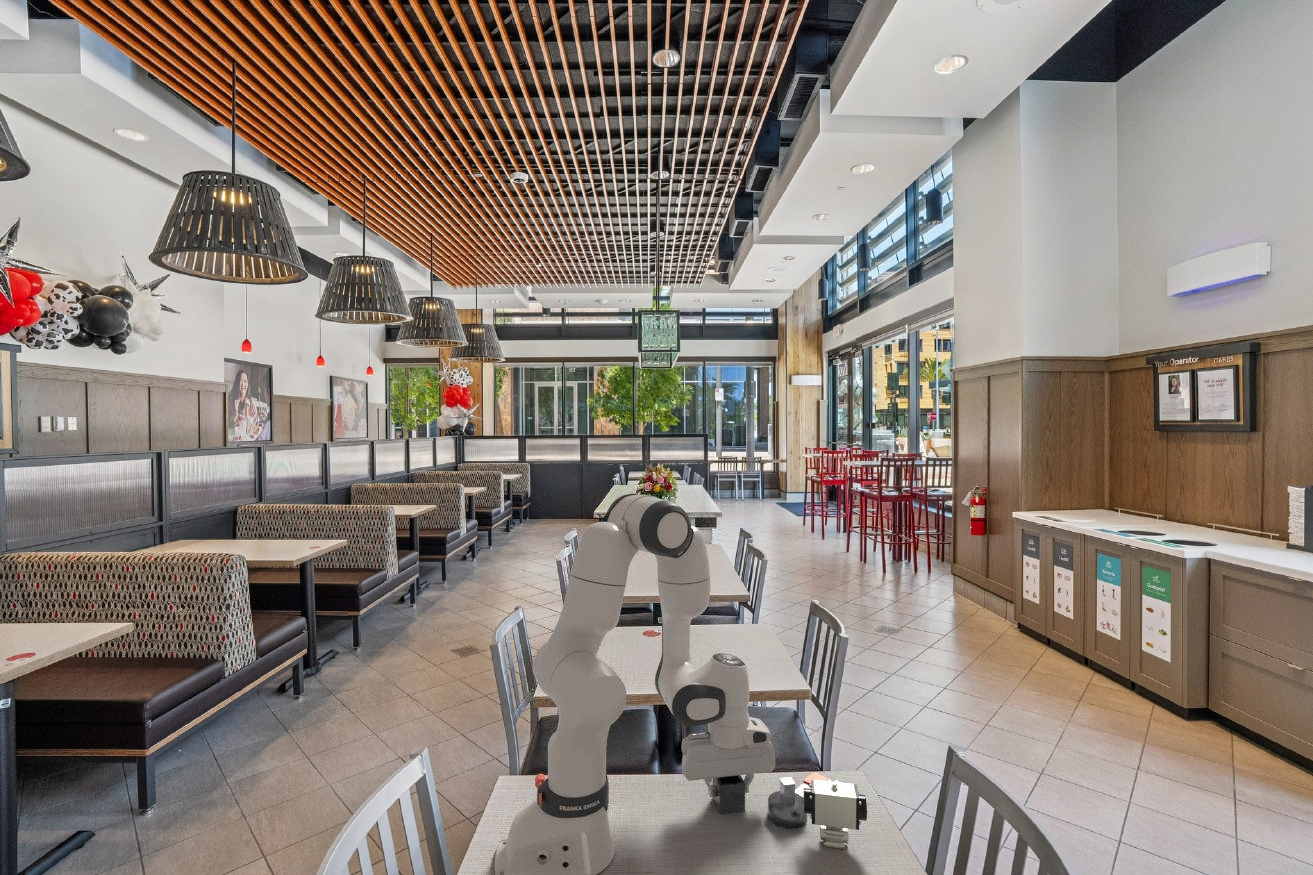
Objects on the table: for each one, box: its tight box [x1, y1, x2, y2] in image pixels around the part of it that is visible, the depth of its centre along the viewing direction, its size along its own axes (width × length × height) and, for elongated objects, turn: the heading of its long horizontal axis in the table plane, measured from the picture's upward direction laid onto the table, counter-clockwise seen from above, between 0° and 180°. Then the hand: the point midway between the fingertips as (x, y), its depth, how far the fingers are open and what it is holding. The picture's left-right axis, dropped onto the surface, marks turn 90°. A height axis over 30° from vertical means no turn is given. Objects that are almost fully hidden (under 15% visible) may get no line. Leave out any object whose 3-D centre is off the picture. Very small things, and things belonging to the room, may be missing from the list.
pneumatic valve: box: [803, 779, 868, 850], centre depth 120 cm, size 6×12×12 cm, turn 78°
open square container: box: [711, 775, 746, 815], centre depth 132 cm, size 6×6×6 cm
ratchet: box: [767, 772, 830, 830], centre depth 132 cm, size 18×8×8 cm, turn 136°
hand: (728, 793), depth 132 cm, fingers open, 6 cm apart
